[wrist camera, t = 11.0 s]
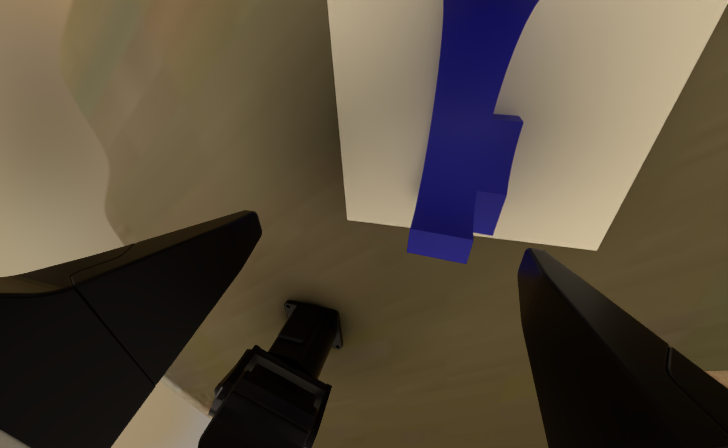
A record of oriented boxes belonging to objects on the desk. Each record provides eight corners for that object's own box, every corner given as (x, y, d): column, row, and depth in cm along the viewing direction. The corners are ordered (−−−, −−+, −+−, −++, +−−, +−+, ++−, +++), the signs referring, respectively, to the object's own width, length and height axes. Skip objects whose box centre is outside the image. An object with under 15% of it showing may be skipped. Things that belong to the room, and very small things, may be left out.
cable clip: (488, 210, 18) (498, 270, 13) (420, 200, 19) (406, 252, 14) (566, -35, 11) (641, -93, 7) (455, -30, 12) (451, -77, 8)
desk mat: (592, 245, 18) (596, 250, 17) (349, 216, 22) (347, 220, 22) (810, -179, 9) (831, -192, 8) (324, -83, 13) (319, -87, 13)
